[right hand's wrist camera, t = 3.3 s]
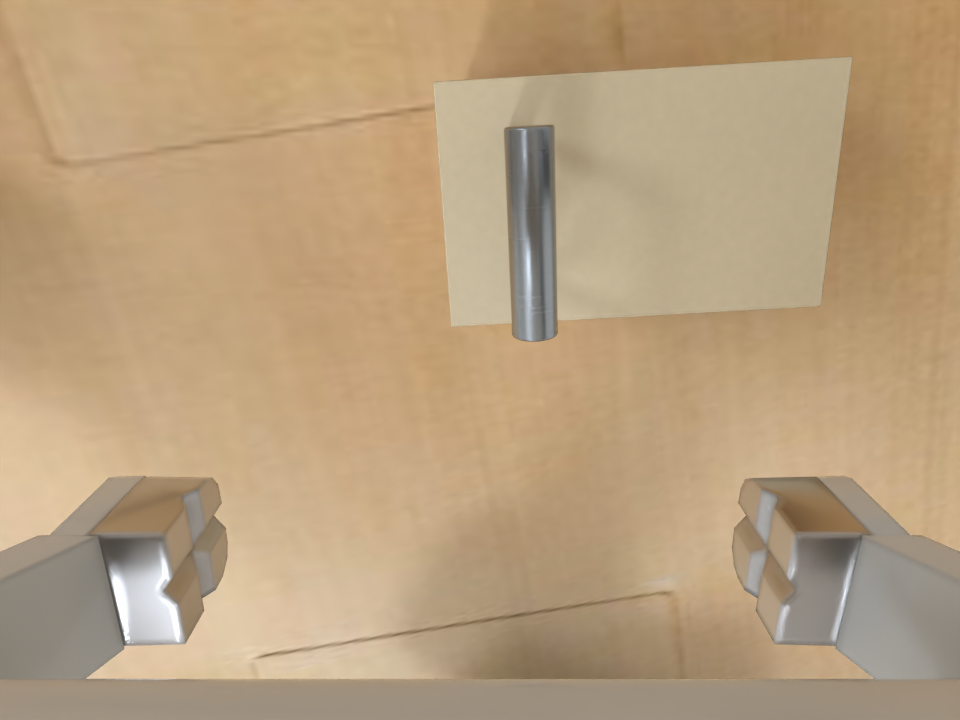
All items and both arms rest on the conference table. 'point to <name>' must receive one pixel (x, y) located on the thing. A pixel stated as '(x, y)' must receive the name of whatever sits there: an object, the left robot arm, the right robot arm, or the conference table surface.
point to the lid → (638, 191)
